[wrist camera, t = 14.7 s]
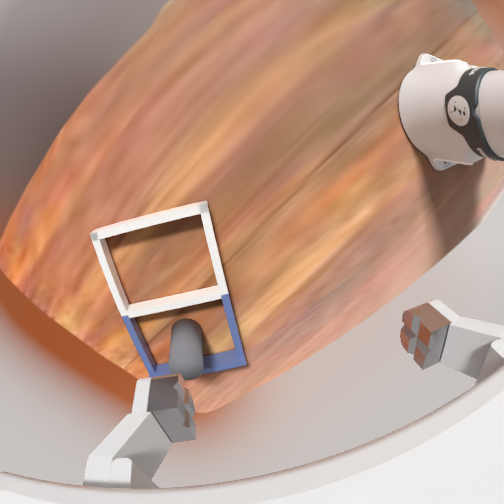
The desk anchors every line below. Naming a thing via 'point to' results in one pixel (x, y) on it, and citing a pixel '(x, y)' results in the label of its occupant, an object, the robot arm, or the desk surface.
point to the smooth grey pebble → (186, 349)
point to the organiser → (175, 301)
